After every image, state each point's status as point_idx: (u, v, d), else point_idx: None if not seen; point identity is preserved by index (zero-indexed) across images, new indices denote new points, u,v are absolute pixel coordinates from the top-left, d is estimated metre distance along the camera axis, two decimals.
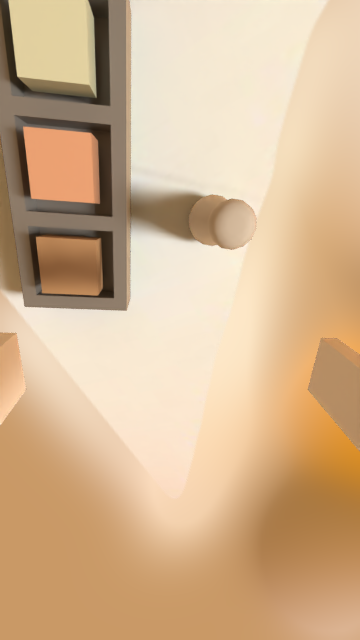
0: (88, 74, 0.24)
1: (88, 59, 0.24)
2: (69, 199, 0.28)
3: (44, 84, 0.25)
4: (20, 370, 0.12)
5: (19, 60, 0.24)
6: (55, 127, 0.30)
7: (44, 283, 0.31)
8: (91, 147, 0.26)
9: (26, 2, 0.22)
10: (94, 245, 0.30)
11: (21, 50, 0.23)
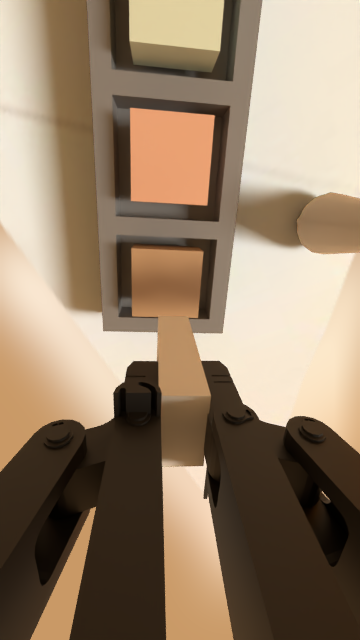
0: (220, 37, 0.19)
1: (222, 16, 0.18)
2: (177, 201, 0.22)
3: (158, 52, 0.19)
4: None
5: (134, 18, 0.18)
6: None
7: (135, 304, 0.25)
8: (212, 134, 0.21)
9: None
10: (201, 257, 0.24)
11: (138, 4, 0.18)
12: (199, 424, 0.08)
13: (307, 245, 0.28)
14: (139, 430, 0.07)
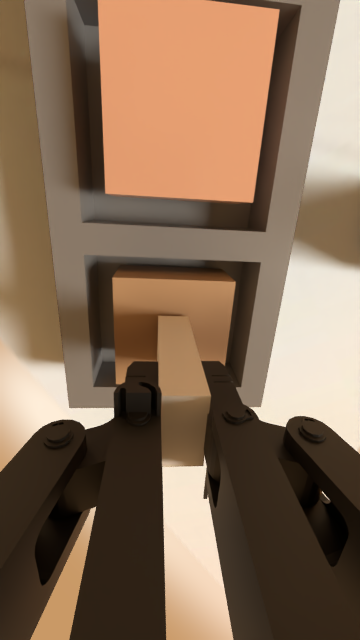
0: None
1: None
2: (196, 194, 0.11)
3: None
4: None
5: None
6: None
7: (122, 366, 0.15)
8: (271, 54, 0.10)
9: None
10: (231, 292, 0.14)
11: None
12: (199, 424, 0.08)
13: None
14: (139, 430, 0.07)
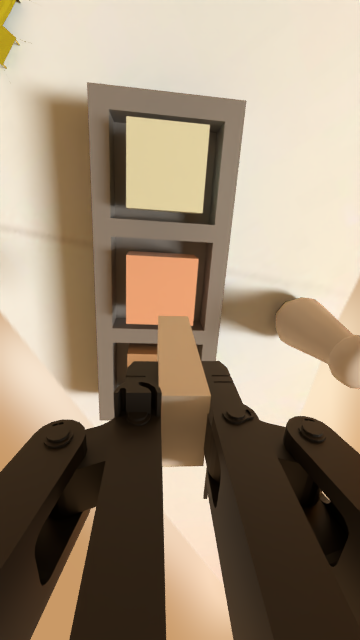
0: (202, 202, 0.22)
1: None
2: None
3: None
4: None
5: (130, 191, 0.21)
6: None
7: None
8: (196, 272, 0.24)
9: (145, 136, 0.20)
10: None
11: (133, 182, 0.21)
12: (199, 424, 0.08)
13: (284, 341, 0.31)
14: (139, 430, 0.07)
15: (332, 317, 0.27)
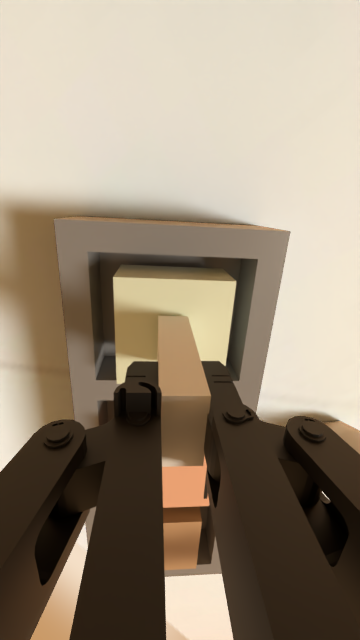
0: None
1: None
2: (174, 505, 0.19)
3: None
4: None
5: (122, 365, 0.15)
6: None
7: None
8: None
9: (141, 300, 0.14)
10: (199, 526, 0.22)
11: (126, 354, 0.15)
12: (199, 424, 0.08)
13: None
14: (139, 430, 0.07)
15: None
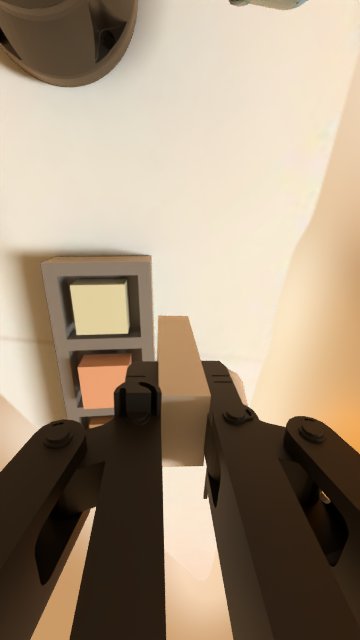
0: (127, 327, 0.33)
1: (126, 318, 0.33)
2: (112, 406, 0.36)
3: None
4: None
5: (78, 325, 0.33)
6: None
7: None
8: None
9: (83, 294, 0.32)
10: None
11: (79, 320, 0.33)
12: (199, 424, 0.08)
13: None
14: (139, 430, 0.07)
15: None
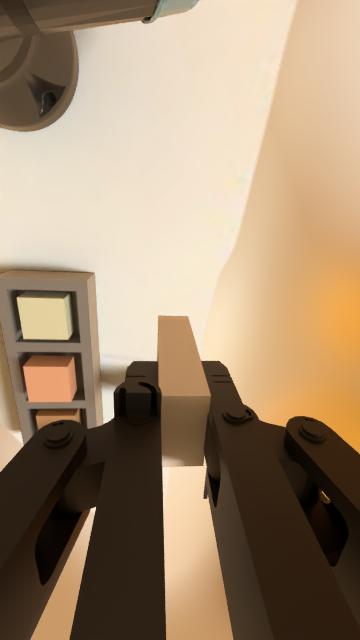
0: (67, 334, 0.39)
1: (67, 327, 0.39)
2: (54, 401, 0.41)
3: None
4: None
5: (24, 331, 0.39)
6: None
7: None
8: (68, 373, 0.40)
9: (28, 305, 0.37)
10: (74, 418, 0.44)
11: (25, 327, 0.38)
12: (199, 424, 0.08)
13: None
14: (139, 430, 0.07)
15: None
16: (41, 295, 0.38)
